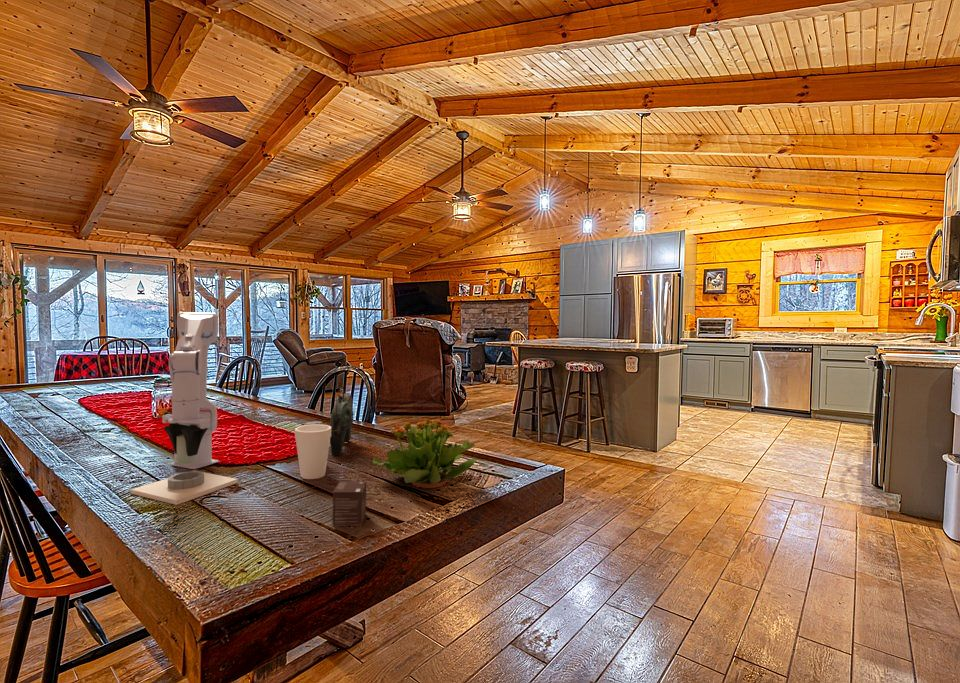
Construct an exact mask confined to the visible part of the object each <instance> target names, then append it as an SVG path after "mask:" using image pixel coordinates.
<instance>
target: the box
mask: <svg viewBox="0 0 960 683" xmlns="http://www.w3.org/2000/svg"><path fill="white" fill-rule="evenodd" d="M332 494H333V495H332V496H333V497H332V526H333V527H341V526H362V525H363V522H364V519H365V517H366V512H367V510H366V509H367V482H366V481H339V482H338V483H337V484H336V487H335V488H334V489H333V491H332Z"/></svg>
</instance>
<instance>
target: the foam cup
mask: <svg viewBox="0 0 960 683" xmlns="http://www.w3.org/2000/svg"><path fill="white" fill-rule="evenodd" d="M322 424H323V423H322ZM322 424H312V425H304V424H303V425H299V426H297V427H295V428H294V439H295V442H296V451H297V458H298V465H299V473H300V478H301V477H302V479H306V480H314V479H320V478H323V477H325V476H326V470H327V463H328V456H329V450H330V445H331V444H330V437H331V426H330V425H328V424H323V425H322Z"/></svg>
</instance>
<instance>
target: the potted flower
mask: <svg viewBox="0 0 960 683" xmlns="http://www.w3.org/2000/svg"><path fill="white" fill-rule="evenodd" d="M434 429H435V431H433V430H434ZM392 434H393V435H394V436H396V437H397V440H396V441H397V442H398V443H399V445H396V447H397V448H395V449H394V450H393V449H390V450H388V451H387V452H385V455H386V457H387V459H385V461H383V462H380V460H379V459H378V457H374V458H373V459H372V463H373V465H378V466H381V467H385V469H387V470H390V472H392V473H394V474H398V475H403V478H404V483H406V484H408V483H409V484H410V483H412V484H413V485H412V484H411V485H412V486H414V485H415V486H414V487H417V488H419V487H422V489H437V488H441V487H443V485H444V486H445V485H446V484H447V483H446V482H448V480H450V479H454V478H456V477H458V476H460V475H462V474H463V473H465V472H466V471H468V470H469V469H470V468H471V467H472V466H474V464H475V463H476V461H477V460H476V459H475V458H471V459H468V460H465V461H463V462H462V463H459V464H458V465H457V466H453V465H454V463H455V462H456V461H457V460H459V459H460V458H462V457H463V456H464V454H462V453H464V452H465V451H468V450H470V449H473V448H474V447H475V443H472V442H471V443H470V441H468V440H464V441H462V444H460V443H457V442H455V443H454V444H453V443H449V444H446V443H447V441H448V439H449V438H450V437H451V438H452V437H453V438H454V435H453V433H452V430H449V426H448V425H447V424H444V422H443V421H442V420H440V419H437V420H431V419H427V418H425V419H424V420H419V421H418V423H416V425H415V426H413V425H412V424H411V422H408V421H407V422H404V424H403V427H402V426H401V427H400V426H394V427H393V430H392ZM405 437H406V441H407V448H408V449H407V448H406V447H405V446H404V444H403V443H402V440H401V438H405ZM445 445H446V446H445ZM436 487H437V488H436Z"/></svg>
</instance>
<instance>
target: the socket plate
mask: <svg viewBox="0 0 960 683" xmlns="http://www.w3.org/2000/svg"><path fill="white" fill-rule="evenodd" d="M235 484H238V478H235V477H234V478H233V477H229V476H225V475H220V474H214V473H209V472H205V471H199V470H196V469H193V470H190V471H188V470H187V471H183V472H178V473H175V474H171V475H170V476H168V477H167V478H165V479H162V480H158V481H154V482H151V483H148V484H145V485H141V486H139V487H136V488H131V489H130V494H131V495H136V496H139V497H144V498H148V499H152V500H156V501H159V502H163V503H168V504H172V505H175V506H177V505H180V504H183V503H185V502H188V501H191V500H194V499H196V498H200V497H202V496H203V497H204V496H205V495H208V494H211V493H213V492H216V491H219V490H222V489H224V488H228V487H230V486H233V485H235Z"/></svg>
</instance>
